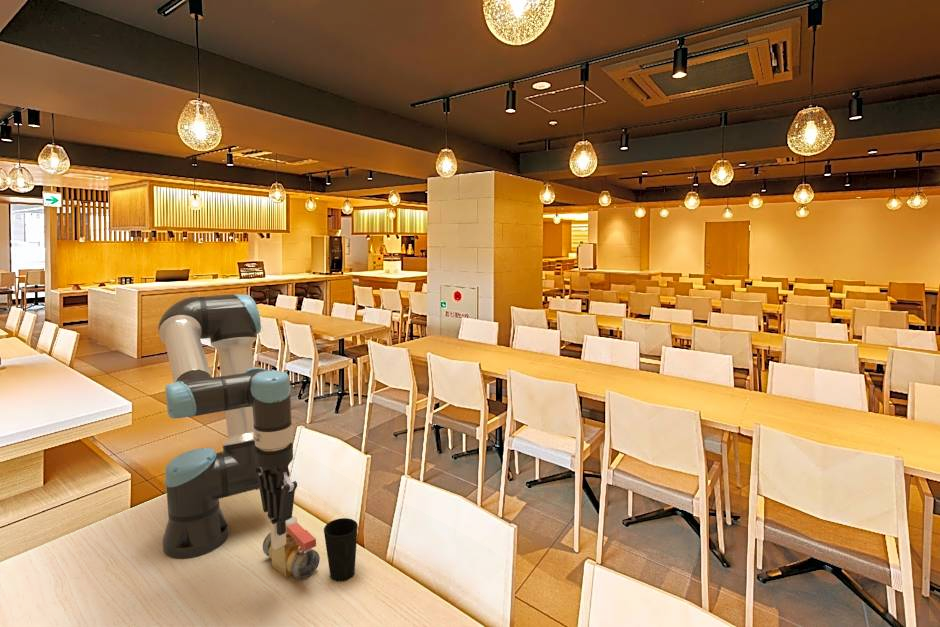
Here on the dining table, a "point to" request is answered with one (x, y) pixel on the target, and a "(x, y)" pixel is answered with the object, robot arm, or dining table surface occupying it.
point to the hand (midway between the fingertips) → (278, 545)
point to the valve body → (292, 558)
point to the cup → (341, 548)
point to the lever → (300, 534)
